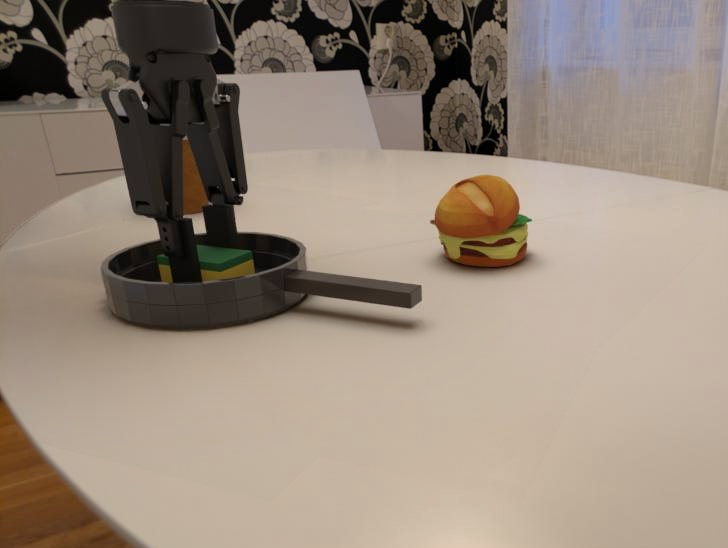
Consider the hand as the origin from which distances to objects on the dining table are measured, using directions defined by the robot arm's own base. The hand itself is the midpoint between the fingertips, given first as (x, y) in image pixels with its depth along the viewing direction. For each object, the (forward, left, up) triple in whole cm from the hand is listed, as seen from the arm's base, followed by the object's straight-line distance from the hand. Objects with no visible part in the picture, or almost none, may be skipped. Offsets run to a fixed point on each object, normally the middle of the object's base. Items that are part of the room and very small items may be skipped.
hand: (208, 280), depth 63 cm
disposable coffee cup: (-28, +28, -1) cm, 39 cm away
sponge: (0, 0, 0) cm, 0 cm away
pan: (+1, -1, -1) cm, 2 cm away
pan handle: (+16, -1, +1) cm, 16 cm away
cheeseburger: (+20, +20, -1) cm, 29 cm away
